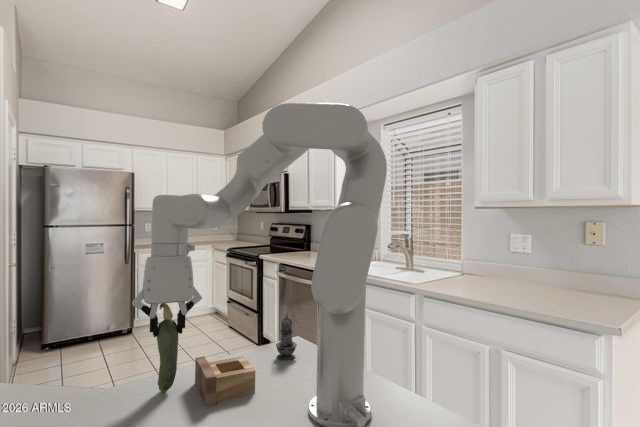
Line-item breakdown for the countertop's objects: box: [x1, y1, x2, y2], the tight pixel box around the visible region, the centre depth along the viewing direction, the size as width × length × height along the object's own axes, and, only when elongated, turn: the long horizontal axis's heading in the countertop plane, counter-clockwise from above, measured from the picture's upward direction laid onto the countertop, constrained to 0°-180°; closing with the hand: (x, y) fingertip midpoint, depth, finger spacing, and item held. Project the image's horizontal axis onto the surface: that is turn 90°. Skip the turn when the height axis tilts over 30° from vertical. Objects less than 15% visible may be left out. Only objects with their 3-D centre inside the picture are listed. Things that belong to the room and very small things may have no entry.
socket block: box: [208, 356, 256, 403], centre depth 81 cm, size 9×9×5 cm
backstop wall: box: [194, 356, 217, 408], centre depth 78 cm, size 12×2×6 cm, turn 29°
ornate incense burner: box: [275, 314, 298, 362], centre depth 100 cm, size 6×6×12 cm
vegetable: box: [156, 303, 179, 394], centre depth 78 cm, size 4×4×20 cm
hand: (167, 332), depth 78 cm, fingers closed on vegetable, 4 cm apart
